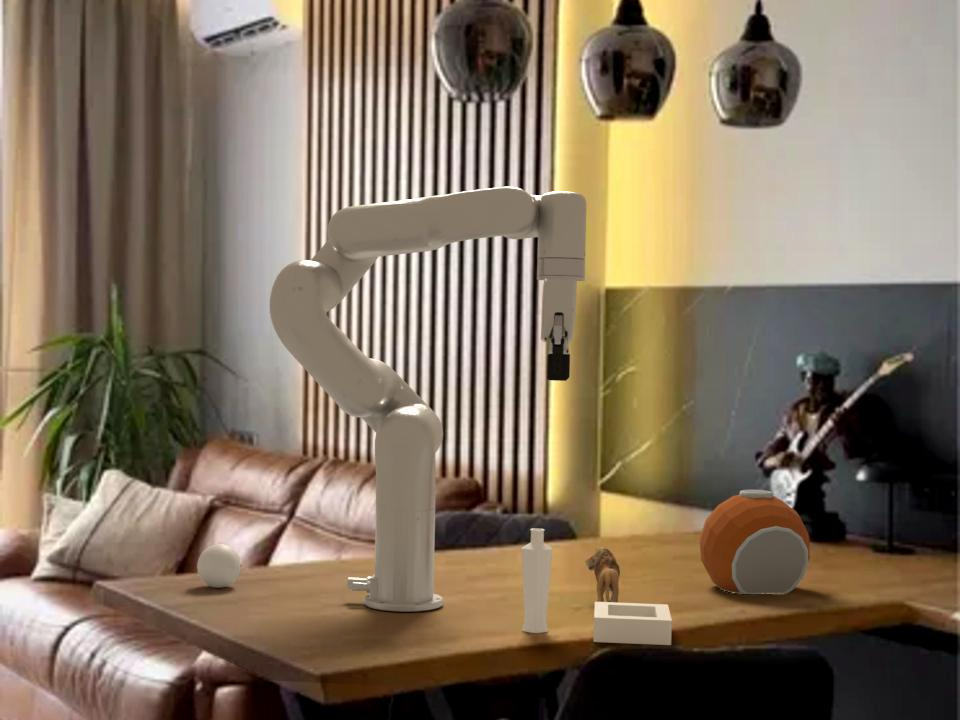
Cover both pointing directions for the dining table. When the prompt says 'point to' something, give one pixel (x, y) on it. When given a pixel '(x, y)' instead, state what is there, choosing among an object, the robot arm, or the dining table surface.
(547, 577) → the perfume bottle
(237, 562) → the off-white rounded piece
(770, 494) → the alarm clock
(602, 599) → the lion figurine
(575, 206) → the robot arm
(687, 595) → the dining table surface
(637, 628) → the white rectangular box
